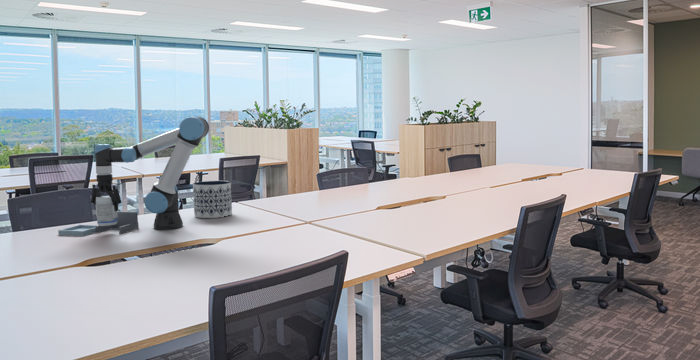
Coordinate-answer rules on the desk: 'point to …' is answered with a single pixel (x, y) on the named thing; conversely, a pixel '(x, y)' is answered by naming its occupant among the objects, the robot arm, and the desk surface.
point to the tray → (78, 230)
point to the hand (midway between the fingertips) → (106, 216)
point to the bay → (122, 223)
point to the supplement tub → (105, 211)
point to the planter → (212, 199)
